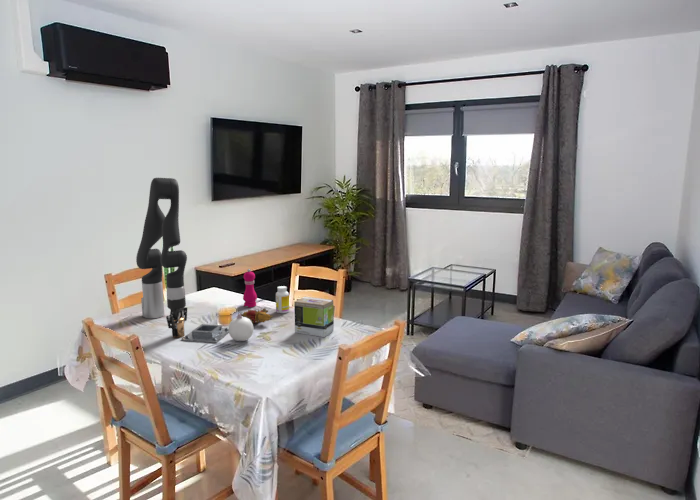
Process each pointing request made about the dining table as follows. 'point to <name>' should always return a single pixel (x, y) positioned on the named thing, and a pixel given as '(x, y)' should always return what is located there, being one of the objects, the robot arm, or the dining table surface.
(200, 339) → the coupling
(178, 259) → the robot arm
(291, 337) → the dining table surface
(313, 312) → the tea box
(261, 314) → the scarecrow
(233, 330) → the ornament
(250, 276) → the pepper mill
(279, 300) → the supplement bottle
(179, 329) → the round knob
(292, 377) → the dining table surface
